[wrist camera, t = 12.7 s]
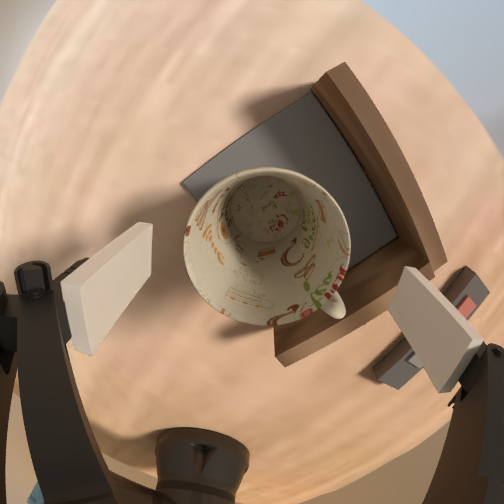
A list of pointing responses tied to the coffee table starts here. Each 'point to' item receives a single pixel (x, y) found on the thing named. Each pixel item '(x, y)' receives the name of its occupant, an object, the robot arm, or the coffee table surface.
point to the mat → (307, 169)
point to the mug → (268, 247)
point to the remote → (403, 356)
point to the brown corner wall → (397, 207)
